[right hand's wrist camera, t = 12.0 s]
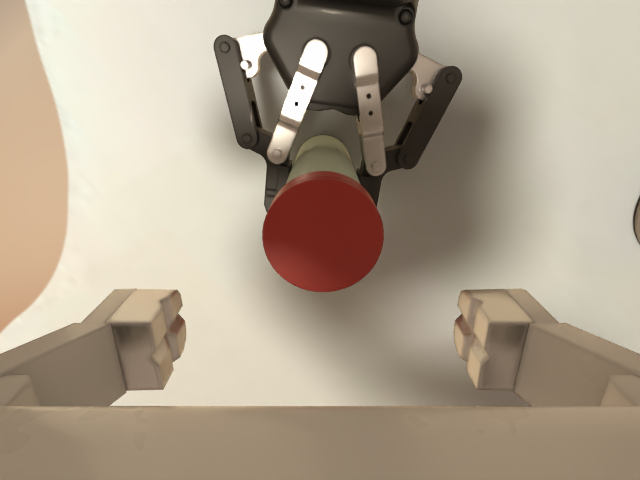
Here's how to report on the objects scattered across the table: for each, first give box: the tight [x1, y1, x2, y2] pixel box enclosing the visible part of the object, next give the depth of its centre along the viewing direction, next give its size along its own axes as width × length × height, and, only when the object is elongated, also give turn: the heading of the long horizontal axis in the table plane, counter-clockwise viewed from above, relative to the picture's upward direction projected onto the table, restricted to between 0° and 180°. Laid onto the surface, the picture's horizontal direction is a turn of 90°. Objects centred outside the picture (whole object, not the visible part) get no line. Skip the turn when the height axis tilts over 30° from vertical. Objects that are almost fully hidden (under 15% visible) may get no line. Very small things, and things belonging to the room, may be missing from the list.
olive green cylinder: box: [286, 135, 361, 185], centre depth 23 cm, size 4×4×16 cm
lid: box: [262, 171, 384, 292], centre depth 16 cm, size 5×5×2 cm
